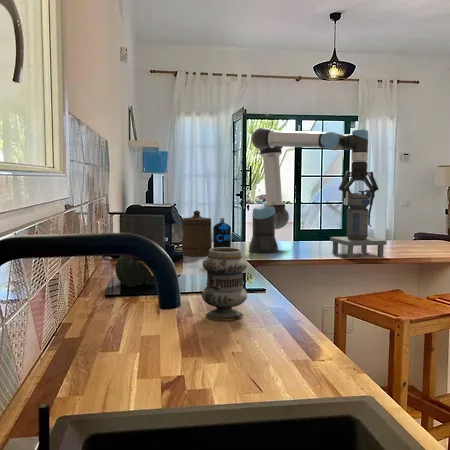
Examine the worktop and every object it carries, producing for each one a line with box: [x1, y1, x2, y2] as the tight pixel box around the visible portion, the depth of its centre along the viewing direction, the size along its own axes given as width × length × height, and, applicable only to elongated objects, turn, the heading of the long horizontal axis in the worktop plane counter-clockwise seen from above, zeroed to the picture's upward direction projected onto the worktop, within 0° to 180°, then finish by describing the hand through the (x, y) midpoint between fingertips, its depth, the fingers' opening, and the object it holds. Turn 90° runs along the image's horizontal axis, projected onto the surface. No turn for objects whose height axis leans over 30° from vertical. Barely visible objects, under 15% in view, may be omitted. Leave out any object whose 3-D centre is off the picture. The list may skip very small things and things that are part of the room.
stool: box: [329, 236, 388, 259], centre depth 240 cm, size 20×20×8 cm
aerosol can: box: [212, 217, 232, 248], centre depth 215 cm, size 8×8×20 cm
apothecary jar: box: [201, 247, 248, 322], centre depth 128 cm, size 12×12×18 cm
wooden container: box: [181, 210, 213, 257], centre depth 240 cm, size 15×15×22 cm
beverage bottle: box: [346, 187, 375, 240], centre depth 239 cm, size 10×13×25 cm
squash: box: [114, 255, 155, 288], centre depth 168 cm, size 14×15×15 cm
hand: (358, 204), depth 238 cm, fingers open, 13 cm apart
